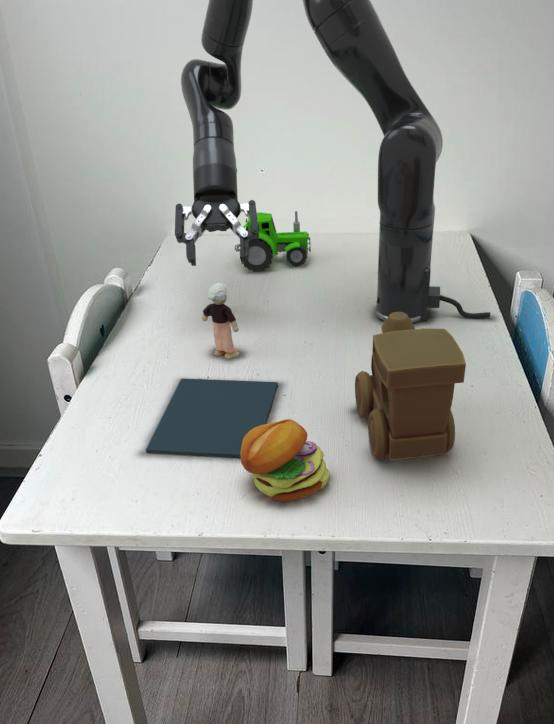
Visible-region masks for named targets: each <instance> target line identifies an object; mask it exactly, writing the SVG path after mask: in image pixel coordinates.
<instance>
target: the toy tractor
mask: <svg viewBox="0 0 554 724" xmlns="http://www.w3.org/2000/svg"><path fill="white" fill-rule="evenodd" d="M298 215H299V214H298V211H294V221H293V223H292V225H293V227H292V228H293V231H286V232H285V231H284V232H277V229H276V225H275V221H274V218H273V214H272V213H268V212H262V211H261V212H257V221H258V230H259V238H258V239H252V240H250V241H249V259H248V260H245V263H244V264H242V265H243V267H244V268H246V269H247V270H248V271H252V272H253V273H256V272H257V273H260V272H261V271H265V270H266V269H268V268H269V267H270V265H271V264H272V261H273V258H274V256H276V255H278V254H279V253H285V254H286V256H285V258H286V262H288V265H290V266H293V267H300V266H302V265H304V264H305V263H306V261H307V258H308V253H309V252H312V246H311V245H312V243H311V236H310V234H309V233H308V231H301V223H300V221H299V219H298V218H299V217H298ZM243 227H244V228H245V230H246V231H247V230H250V229H251V222H250V217H247V218H245V224H244V225H243ZM234 251H235V252H238V253H240V243H238V244H237V243H236V244H235V245H234ZM239 260H241V255H240V254H239Z"/></svg>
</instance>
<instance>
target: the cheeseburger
mask: <svg viewBox="0 0 554 724" xmlns="http://www.w3.org/2000/svg"><path fill="white" fill-rule="evenodd" d="M240 455H241V458H240V463H241V466H242V467H243V469H244V470H245V471H247V472H248V473H249V474H251V475H252V478H253V481H254V485H255V487H256V488H257V489H258V490H259V491H260V492H261V493H262V494H263V495H264V496H266V497H268V498H270V499H271V500H273V501H277V502H285V503H286V502H291V501H296V500H300V499H304V498H306V497H309V496H311V495H313V494H315V493H316V492H318V491H319V490H320V491H321V490H322V489H324V488H325V486H326V485H327V484H328V482H329V481H330V472H329V469H328V468H327V463H326V461H325V460H324V457H325V453H324V452H323V450H322V449H321V447H320V446H318V445H317V444H316V443H315V442H313V441H309V440H308V432H307V431H306V429H305V428H304V427H303V426H302V425H301V424H300V423H299V422H298V421H295V420H293V419H290V418H288V419H287V418H286V419H282V420H278V421H275V422H269V423H266V424H264V425H261V426H258V427H255V428H253V429H252V430H250V431H249V432H248V433H247V434H246V436H245V437H244V439H243V441H242V446H241V452H240Z"/></svg>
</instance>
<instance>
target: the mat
mask: <svg viewBox="0 0 554 724" xmlns="http://www.w3.org/2000/svg"><path fill="white" fill-rule="evenodd" d="M278 385H279V383H278V381H261V380H260V381H259V380H258V381H256V380H234V379H233V380H232V379H231V380H230V379H204V378H203V379H202V378H180V380H179V382H178V385H177V387H176V389H175V391H174V393H173V395H172V397H171V399H170V401H169V402H168V405H167V407H166V408H165V410H164V412H163V414H162V417H161V419H160V421H158V424H157V426H156V429H155V430H154V432H153V434H152V437H151V438H150V440H149V442H148V444H147V446H146V448H145V453H146V454H162V455H178V456H179V455H180V456H196V457H197V456H198V457H199V456H201V457H215V458H232V459H233V458H235V459H241V455H240V452H241V446H242V441H243V439H244V437H245V436H246V434H247V433H248V432H249V431H250V430H252V429H253V428H255V427H258V426H261V425H264V424H268V423H267V422H268V419H269V416H270V412H271V409H272V406H273V403H274V399H275V396H276V393H277V389H278Z"/></svg>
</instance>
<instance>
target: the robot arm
mask: <svg viewBox="0 0 554 724" xmlns="http://www.w3.org/2000/svg"><path fill="white" fill-rule="evenodd" d="M253 5H254V0H208V3H207V10H206V13H205V17H204V22H203V28H202V32H201V41H200V42H201V46H202V48H203V50H204V51H205V52H206V53H207V54H208V55H209V56H210V57H212V58H214V59H216V60H218V61H221V62H222V63H219V62H213V61H209V60H208V61H207V60H204V59H198V58H195V59H194V58H193V59H191V60H189V61H187V63H185V65H184V66H183V69H182V72H181V75H180V87H181V92H182V93H181V94H182V95H183V99H184V103H185V105H186V108H187V111H188V115H189V118H190V121H191V125H192V133H193V134H192V136H193V137H192V138H193V140H192V141H193V154H192V178H193V182H192V183H193V203H192V205H191V206H183V204H182V203H177V204H176V205H175V212H174V213H175V214H174V219H175V220H174V236H175V239H176V241H177V243H179V244H185V250H186V251H185V254H186V256H185V257H186V260H187V262H188V263H189V264H190V265H191V266H192V267H197V251H196V249H197V248H196V244H195V243H196V242H197V241H198V239H199V238H202V236H203V235H204V233H205V232H206V231H207V232H208V233H214V232H227V231H228V230H229V229H230V231H231V232H232V233H233V234H234V235H235V236H236V237H237V238H238V239H239V244H240V247H239V249H240V252H239V256H240V255H241V259H240V263H241V264H242V265H243V264H244V263H245V260H248V259H249V241H250V240H252V239H258V238H259V230H258V221H257V213H258V211H257V204H256V200H254V199H250V200H249V201H248V202H246V203H240V202H239V200H238V199H239V198H238V196H239V195H238V168H237V157H236V153H235V137H234V122H233V120H232V117H231V116H230V115H229V114H228V113H226V112H225V111H230V110H232V109H234V108H235V107H236V106H237V105H238V103H239V101H240V100H241V96H242V56H243V50H244V45H245V41H246V37H247V34H248V30H249V26H250V22H251V18H252V13H253V7H254V6H253ZM302 6H303V8H304V12H305V16H306V20H307V21H308V23H309V25H310V28H311V30H312V31H313V34H314V35H315V37H316V39H317V40H318V42H319V44H320V46H321V48H322V50H323V51H324V54H325V55H326V56H327V57H328V59H329V61H330V62H331V64H332V65H333V67H335V69H336V70H337V71H338V72H339V74H341V76H342V77H343V78H344V79H345V80H346V81H347V82H348V83H349V84H350V85H351V86H352V87H353V88H354V89H355V91H357V93H359V95H360V96H361V97H362V98H363V99H364V101H365V102H366V103H367V105H368V107H369V108H370V111H372V113H373V116H374V117H375V119H376V122H377V123H378V125H379V128H380V130H381V133H382V135H383V137H382V140H381V142H380V145H379V149H378V156H377V206H378V210H379V228H378V229H379V231H378V259H377V260H378V261H377V286H376V287H377V290H376V306H375V315H376V316H377V318H378V319H380V320H382V321H383V322H385V321H386V319H387V318H388V316H389V315H390V314H391V313H393V312H403V313H405V314H407V315H408V317H409V318H410V320H411V321H412V323H413V324H415V323H418V322H426V321H427V320H428V310H429V309H440V303H441V302H443V303H448V304H450V305H452V306H454V307H455V308H456V310H457V312H458V314H459V315H460V316H462V317H463V318H467V319H483V318H491V312H489V311H488V312H487V311H486V312H478V313H477V312H475V313H470V312H467V311H465V310H464V308H463V306H462V303H460V302H458V301H457V300H456V299H453V298H452V297H448V296H445V295H442V294H441V286H435V285H434V286H433V285H431V286H430V284H431V272H432V265H431V263H432V253H433V241H434V240H433V239H434V226H435V216H436V204H435V202H434V201H435V199H434V194H435V178H436V167H437V166H436V165H437V163H438V161H439V159H440V157H441V154H442V152H443V151H442V150H443V146H444V143H443V141H444V139H443V133H442V130H441V128H440V126H439V124H438V122H437V121H436V119H435V117H434V116H433V115H432V113H431V112H430V111H429V109H428V108H427V106H426V105H425V103H424V101H423V100H422V98H421V97H420V95H419V93H418V92H417V91H416V89H415V88H414V86H413V84H412V83H411V81H410V80H409V78H408V76H407V75H406V72H405V70H404V68H403V66H402V64H401V62H400V59H399V57H398V55H397V52H396V50H395V47H394V46H393V44H392V42H391V40H390V38H389V35H388V34H387V32H386V30H385V28H384V26H383V24H382V21H381V19H380V17H379V15H378V13H377V11H376V9H375V8H374V7H375V6H374V5H373V3H372V1H371V0H302ZM241 213H244V215H245V217H247V218H248V217H250V222H251V229H250V230H247V231H246V230H245V229H246V228H244V225H242V224H241V221H240V220H239V219H238V218H239V216H240V215H241ZM191 215H192V216H193V217H194V218H195V219H194V221H193V223H192V224H191V227H190V228H189V230H188V231H187V233H186V232H185V221H187V220H189V218H190V217H189V216H191Z"/></svg>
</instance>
